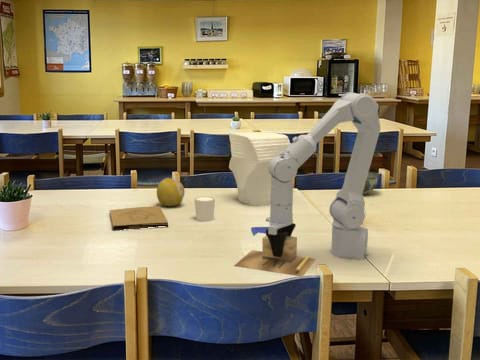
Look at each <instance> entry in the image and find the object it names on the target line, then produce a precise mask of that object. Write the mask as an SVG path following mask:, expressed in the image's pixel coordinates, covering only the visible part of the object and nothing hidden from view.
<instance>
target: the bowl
mask: <svg viewBox="0 0 480 360" xmlns="http://www.w3.org/2000/svg"><path fill="white" fill-rule="evenodd" d="M346 173H347V172H345V173H344V178H345V177H346ZM379 177H380V175H379V174H378V173H376V172H370V171H369V172H368V175H367V179H366V182H365V186H364V189H363V193H362V195H363V196H368V195H369V193H370V192H372V191H373V190H374V189H375V188H376V186H377V184H378V180H379Z"/></svg>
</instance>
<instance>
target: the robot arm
mask: <svg viewBox="0 0 480 360" xmlns="http://www.w3.org/2000/svg"><path fill="white" fill-rule="evenodd" d="M379 108H380V105H379V104H378V102H377V101H376V99H374V97H373V96H372V95H370V94H368V93H356V92H354V91H353V92H351V91H349V92H346V93H344V94H343V95H342V96H341V97H340V98H339V99H337V100H336V101H335V102H334V103H333V105H332V106H331V108H330V109H329V110H328V111H326V113H325V114H324V115H323V117H322V118H320V120H319V121H318V122H317V123H316V124H315V125H314V127H312V128H311V130H310V131H309V132H307V134H300V135H299V136H294V137H293V138H292V141H293V142H291V145H290V146H289V147H288V148H287V149H286V150H285V151H284V152H283V151H281V152H280V153H279V154H280V155H281V156H278V157H275V158H273V159H272V160H271V162H270V165H269V166H268V171H269V173H270V174H271V198H270V204H269V206H270V208H269V209H270V211H269V217H266V218H265V222H268V223H269V226H267V227H268V229H267V230H266V234H265V236H266V235H267V237H268V239H269V241H270V244H271V248H272V253H273V256H275V257H281V256H282V253H283V247H284V242H285V239H286V236H292V234H293V232H294V230H295V229H296V227H297V226H296V223H294V222H293V221H294V218H293V216H294V215H293V207H294V206H293V204H294V203H293V202H294V201H293V199H294V197H293V195H294V179H295V178H296V176H297V173H298V169H299V168H300V167H301V166H302V165H303V164H305V162H307V160H308V159H309V158H310V157H312V156H313V154H315V152H316V151H317V144H318V143H319V142H320V141H321V140H322V139H323V138H325V137H327V135H328V134H329V133H330V132H332V130H333V129H335V128H336V127H337V126H338V125H339V124H340V123H345V122H346V123H347V122H352V124H353V125H354V126H355V129H356V130H357V134H356V137H355V141H354V145H353V147H352V148H353V149H352V152H351V156H350V160H349V163H348V167H347V170H346V172H345V173H346V177H345V176H344V182H343V185H342V188H341V189H340V190H338V192H337V193H336V195H335V198H334V199H333V200H332V201H331V203H330V205H329V210H328V211H329V214H330V216H331V218H332V219H333V220H332V227H331V228H332V229H331V246H330V247H331V249H330V252H331V255H333V256H334V257H337V258H342V259H356V260H364V259H365V257H366V256H367V255H368V238H369V230H368V228H366V227H362V224H363V223H364V220H365V217H366V216H365V205H366V203H365V198H364V195H362V193H363V189H364V186H365V182H366V179H367V175H368V172H370V167H371V165H372V160H373V157H374V154H375V150H376V147H377V144H378V143H377V142H378V140H379V136H380V131H381V122H380V117H379V112H378V111H379Z"/></svg>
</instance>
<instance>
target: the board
mask: <svg viewBox="0 0 480 360" xmlns="http://www.w3.org/2000/svg"><path fill="white" fill-rule="evenodd" d="M305 258H306V256H305V257H304V256H303V257H302V256H297V255H296V258H295V259H294V260H293V261H292V262H285V261H278V260H271V259H264V258H262V251H261V250H254V249H252V250H250V251H249V252H248V253H247V254H246V255H244V256H243V257H242V258H241V259H240V260H239V261H238V262H237V263H235V264H234V265H233V266H234V267H238V268H243V269H244V268H245V269H250V270H257V271H262V272H263V271H264V272H270V273H277V274H283V275H290V276H297V277H302V276H303V277H304V276H305V274H306V273H307V271H308V270H309V269H310V268H311V267H312V266H313V264H314V263H315V261H316V260H317V258H312V257H310V259H309V260H308V261H307V263H306V264H305V265H304V266H303V268H302V269H301V270H300V271H299V272H298V273H295V270H296V269H297V267H298V266H299V265H300V264H301V263H302V261H303V260H304V259H305Z"/></svg>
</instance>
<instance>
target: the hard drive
mask: <svg viewBox="0 0 480 360" xmlns="http://www.w3.org/2000/svg"><path fill="white" fill-rule="evenodd" d="M268 227H269V226H252V227H250V230H251V234H252V235H253V237H255V236H256V235H257V234H259V233H260V234H265V235H266V230H267V229H268Z"/></svg>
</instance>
